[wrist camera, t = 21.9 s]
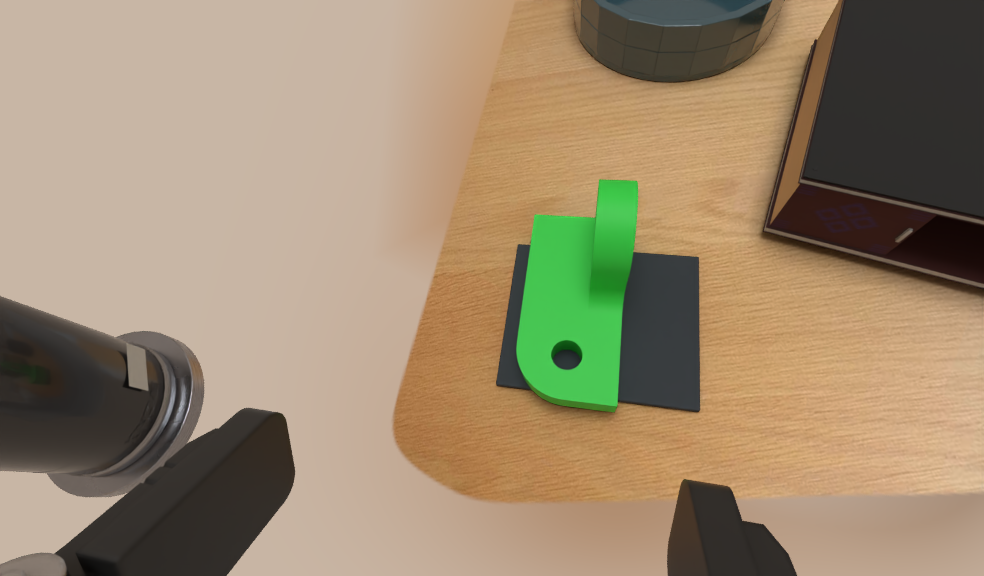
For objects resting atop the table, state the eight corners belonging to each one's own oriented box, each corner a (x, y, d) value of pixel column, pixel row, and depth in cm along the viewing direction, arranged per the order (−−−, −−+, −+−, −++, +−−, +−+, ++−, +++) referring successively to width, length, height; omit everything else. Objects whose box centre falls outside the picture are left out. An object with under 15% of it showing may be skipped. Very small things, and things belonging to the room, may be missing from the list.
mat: (496, 385, 30) (495, 384, 30) (518, 247, 34) (517, 243, 33) (698, 412, 28) (700, 410, 27) (697, 260, 31) (698, 256, 31)
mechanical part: (536, 229, 34) (527, 156, 26) (623, 235, 32) (639, 159, 25) (513, 399, 29) (495, 366, 22) (614, 412, 28) (629, 382, 21)
